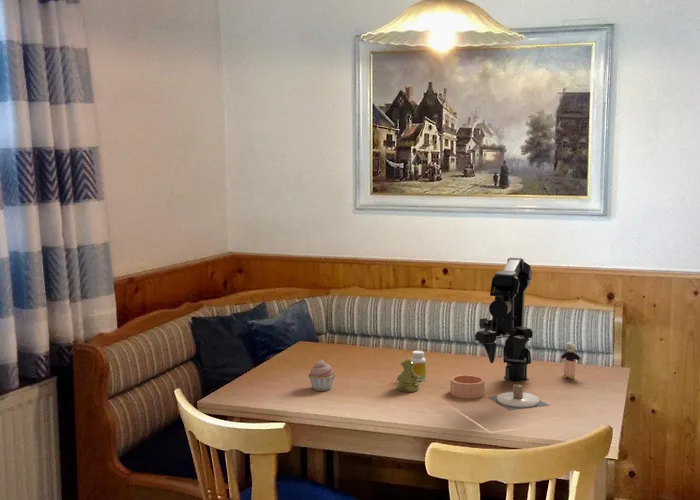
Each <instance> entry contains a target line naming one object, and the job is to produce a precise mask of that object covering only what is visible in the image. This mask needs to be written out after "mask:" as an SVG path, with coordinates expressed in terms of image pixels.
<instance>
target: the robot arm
mask: <svg viewBox="0 0 700 500" xmlns="http://www.w3.org/2000/svg"><path fill="white" fill-rule="evenodd" d="M532 276H533V272H532V267H531V265H530V264H528V263H527V262H526V261H525V260H524V258H522V257H509V258H507V262H506V264H505V266H504V268H503V269H502V270H499V271H496V272H495V273H494V276H492V278H491V279H492V280H491V286H490V291H489V296H490V297H494V300H493V301H491V303H490V304H489V307H488V311H489V314H490V315H491V318H492V319H488V318H487V317H483V318H480V319H479V323H478V325H479V328H480V330H479V331H476V332H475V335H474V340H475V341H477V342H478V343H479V344H482V346H483V347H484V349H485V351H486V354H487V357H488V360H489V363H491V364H494V361H495V356H496V349H497V343H498V342H497V343H496V341H497V339H503V338H506V340H505V341H504V345H503V349H502V357H503V358H502V359H503V363H506V366H505V372H504V373H505V375H504V376H503V378H504V379H505V380H508V381H511V382H514V383H516V382H523V381H524V382H525V381H530V379H529V378H528V377H527V376H528V374H527V373H528V365H531V364H532V354H531V353H532V352H531V350H530V347H529V346H528V341H530V339H531V338H533V335H534V332H533V330H532V328H529V327H526V326H524V319H525V297H526V296H525V294H526V293H525V292H526V291H527V289H528V287H529V286H530V284H531V283H530V282H531V281H532V279H533V277H532ZM482 329H483V330H482Z"/></svg>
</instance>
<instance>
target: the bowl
mask: <svg viewBox="0 0 700 500" xmlns="http://www.w3.org/2000/svg"><path fill="white" fill-rule="evenodd" d="M449 383H450V384H449V385H450V386H449V392H450V394H451V395H452V396H453V397H456V398H461V399H462V398H463V399H479V398H482V397H484V396H485V395H486V394H485V392H486V379H485V378H483V377H482V376H479V375H473V374H472V375H471V374H458V375H454V376H451V377H450V382H449Z"/></svg>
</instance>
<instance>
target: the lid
mask: <svg viewBox="0 0 700 500" xmlns="http://www.w3.org/2000/svg"><path fill="white" fill-rule="evenodd" d="M496 396H497V401H498V402H499V403H500V404H503V405H506V406H510V407H533V406H536V405H538V404H539V400H540V398H539V396H537V395H535V394H532V393H528V392H524V385H523V384H518V383H515V384H513V386H512V391H507V392H502V393H499V394H498V395H496ZM500 404H499V405H500ZM533 408H534V407H533Z"/></svg>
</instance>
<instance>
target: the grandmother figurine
mask: <svg viewBox="0 0 700 500" xmlns="http://www.w3.org/2000/svg"><path fill="white" fill-rule="evenodd" d="M565 347H566V350H567V351H565V352H563V354H562V355H561V357H560V359H559V362H560V363H563V361H564V365H563V366H564V367H563V374H562V375H561V378H563V379H564V378H565V379H567V378H568V379H570V380H574V379H576V377H575V375H576V360H577V362H578V365H579V364H580V365H582V363H583V362H582V359H581V357H580V355H578V353H575V352H574V351H575V350H576V349H577V346H576V344H575V343H573V342H572V341H570V342H567V343H566V346H565Z"/></svg>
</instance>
